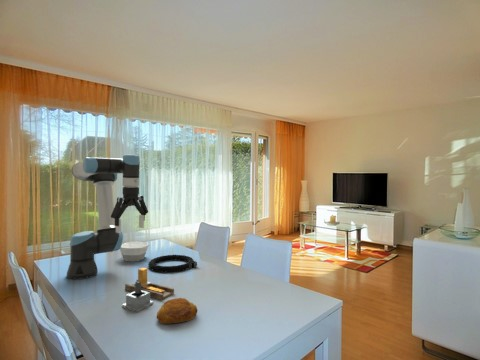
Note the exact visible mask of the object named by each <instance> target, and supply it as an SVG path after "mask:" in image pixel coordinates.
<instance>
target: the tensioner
mask: <svg viewBox="0 0 480 360" xmlns="http://www.w3.org/2000/svg"><path fill="white" fill-rule="evenodd" d="M137 280H138V281H141V288H144V289H147V290H151V291H155V292H158V293H163V292H164V290H161V289H158V288H154V287H151V283H152V282H151V281H148V268H147V267H141V268H138V270H137ZM133 284H134V286H135V283H133Z"/></svg>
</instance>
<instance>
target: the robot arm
mask: <svg viewBox="0 0 480 360" xmlns="http://www.w3.org/2000/svg"><path fill="white" fill-rule="evenodd" d="M140 163H141V160H140V156H139V154H123V156H122V158H120V157H119V158H116V157H115V158H113V157H94V156H90V157H89V156H88V157H87V156H86V157H85V158H83V161H79V162H76V163H75V164H73V165H72V167H71V174H72V177H74V178H75V179H77V180H79V181H83V182H92V183H93V186H94V187H96V197H97V211H98V213H97V214H98V223H99V224H98V225H99V227H98V228H97V229H96V232H95V231H93V230H84V231H80V232H77V233H74V234H73V235H71V237H70V243H69V245H70V249H69V250H70V251H69V253H70V259H69V260H70V263H69V265H68V267H67V271H66V278H67V279H69V280H83V279H84V280H85V279H87V278H91V277H94V276H96V275H97V274H98V271H99V270H98V266H97V264H96V260H95V255H96V254H97V255H99V254H104V253H113V252H117V251H120V248H121V245H122V244H123V239H124V235H123V231H122V219H121V217H122V215H123V214H124V213H125V211H126V210H127V208H128V207H132V206H134V207H135V209H136V211H138V212H139V215H138V228H139V229H140V228H141V229H144V228H145V226H144V225H145V220H146V216H147V214H148V213H149V210H148V207H147V204H146V202H145V200H144V195H139V194H140V187H139V186H140V167H141V166H140ZM118 174H122V186H123V187H122V196H123V197H120V196H119V197H118V196H117V197H116V202H115V206H114V195H113V186H114V185H115V182H116V181H117V180H118Z"/></svg>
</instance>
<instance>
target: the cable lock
mask: <svg viewBox="0 0 480 360" xmlns="http://www.w3.org/2000/svg"><path fill="white" fill-rule="evenodd" d="M166 261H169V262H170V261H182V262H185V263H184V264H178V265H157V264H159V263H162V262H166ZM194 267H195V268H194ZM197 267H198V262H197V260H195V259H193V258H192V257H191V256H188V255H184V254H183V255H182V254H167V255H160V256H158V257H154V258H152V259H150V261H149V262H148V268H149V269H150V270H151V271H152V272H153V271H154V272H158V273H177V272H183V271H186V270H189V269H196V268H197Z"/></svg>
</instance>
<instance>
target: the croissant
mask: <svg viewBox="0 0 480 360" xmlns="http://www.w3.org/2000/svg"><path fill="white" fill-rule="evenodd" d="M197 314H198V307H197V305H196V304H194V303H193V302H192V301H189V300H188V299H186V298H184V297H178V298H172V299H168V300H166V301H165V302H164V303H163V304H162V305H161V306H160V308H159V309H158V311H157V313H156V319H157V320H158V321H159V323H160V324H162V325H164V324H168V325H169V324H177V323H184V322H188V321H191V320H193V319H194V318H196V316H197Z"/></svg>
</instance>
